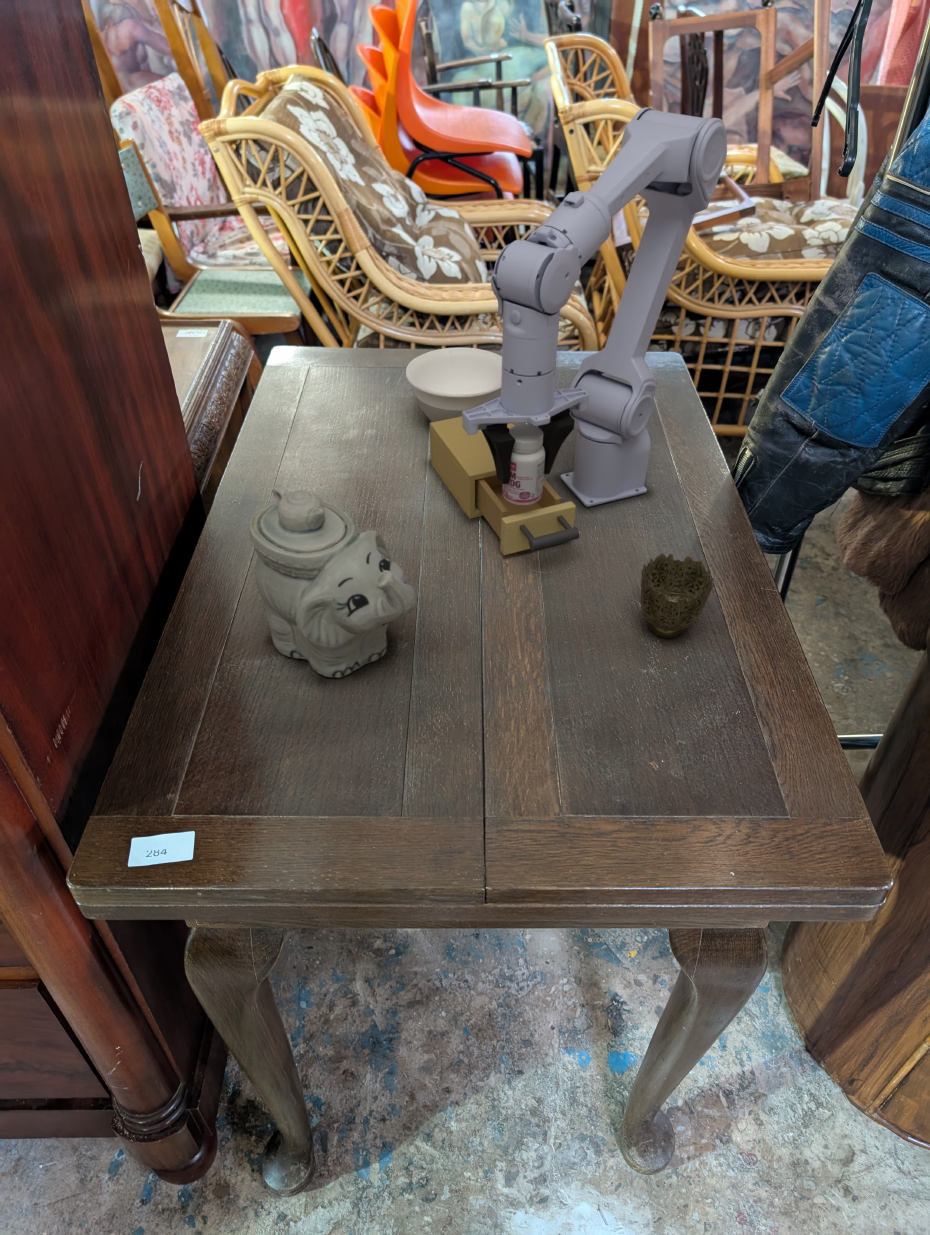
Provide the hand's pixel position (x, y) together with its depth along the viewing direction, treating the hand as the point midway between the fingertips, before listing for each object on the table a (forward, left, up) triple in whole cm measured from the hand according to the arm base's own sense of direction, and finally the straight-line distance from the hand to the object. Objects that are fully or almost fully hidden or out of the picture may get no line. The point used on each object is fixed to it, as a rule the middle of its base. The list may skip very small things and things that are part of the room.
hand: (523, 474), depth 93 cm
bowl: (-5, -32, -11) cm, 34 cm away
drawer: (-2, -2, -9) cm, 10 cm away
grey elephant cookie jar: (+25, +10, -11) cm, 29 cm away
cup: (-9, +20, -11) cm, 24 cm away
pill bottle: (0, 0, -3) cm, 3 cm away
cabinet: (-2, -15, -10) cm, 18 cm away
